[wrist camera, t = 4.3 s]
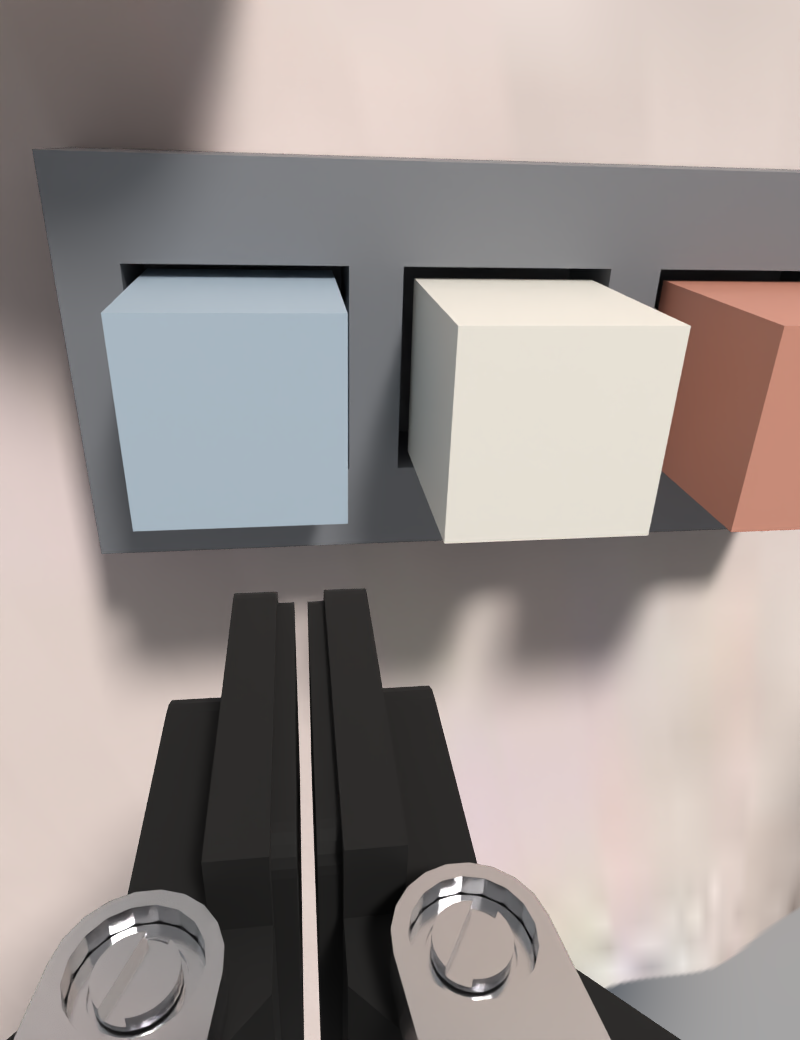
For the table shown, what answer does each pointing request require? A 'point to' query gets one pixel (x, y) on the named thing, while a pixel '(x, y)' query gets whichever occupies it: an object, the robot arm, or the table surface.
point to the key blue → (231, 397)
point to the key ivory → (539, 407)
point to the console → (382, 279)
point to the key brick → (738, 401)
